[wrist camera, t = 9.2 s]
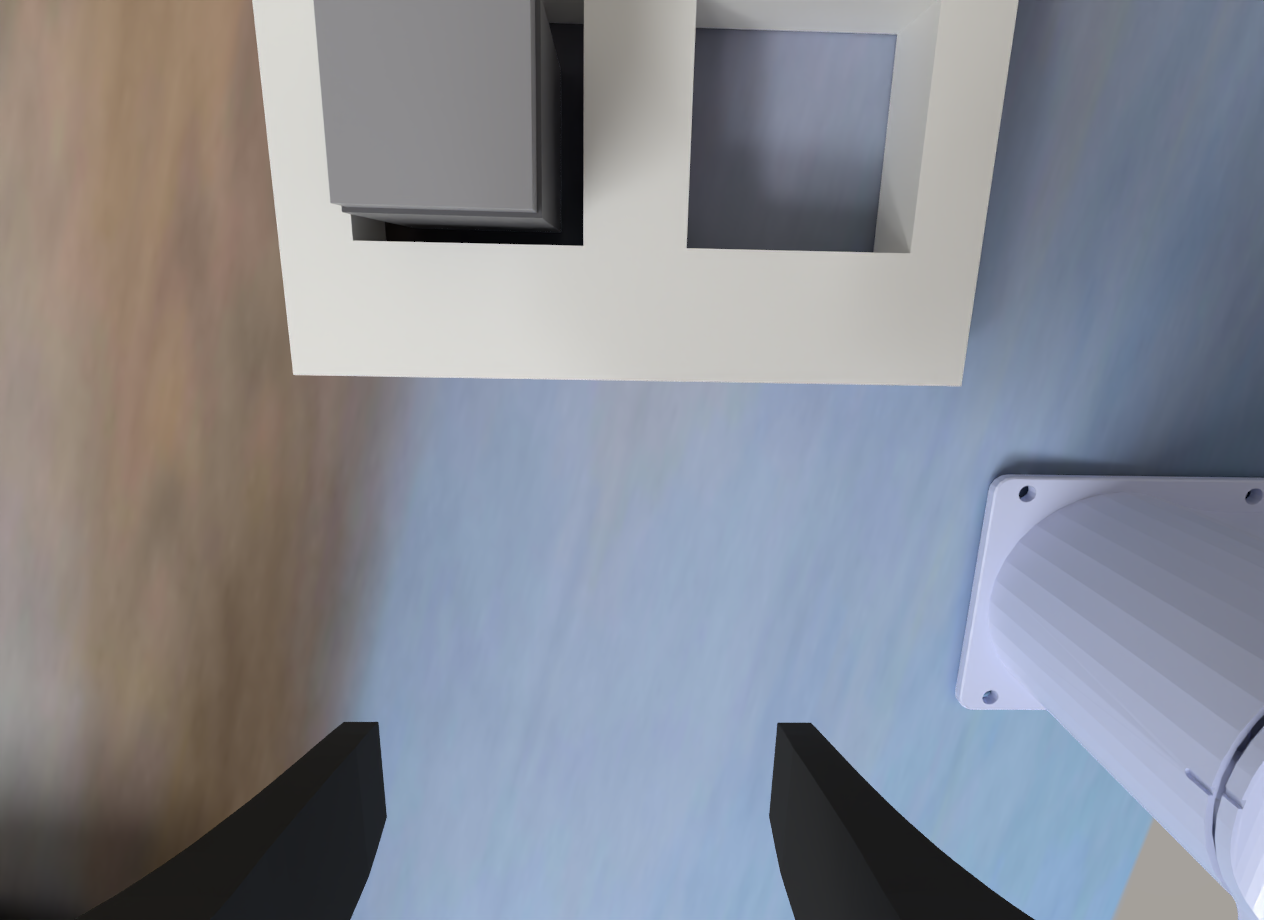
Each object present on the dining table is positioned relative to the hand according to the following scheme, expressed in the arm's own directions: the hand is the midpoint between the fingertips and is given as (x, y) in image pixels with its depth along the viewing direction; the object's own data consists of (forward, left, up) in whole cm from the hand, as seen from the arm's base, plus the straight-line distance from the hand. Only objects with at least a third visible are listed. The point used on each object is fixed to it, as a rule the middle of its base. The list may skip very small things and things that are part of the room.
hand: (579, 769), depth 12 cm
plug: (+3, -12, -10) cm, 15 cm away
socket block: (-1, -12, -9) cm, 15 cm away
